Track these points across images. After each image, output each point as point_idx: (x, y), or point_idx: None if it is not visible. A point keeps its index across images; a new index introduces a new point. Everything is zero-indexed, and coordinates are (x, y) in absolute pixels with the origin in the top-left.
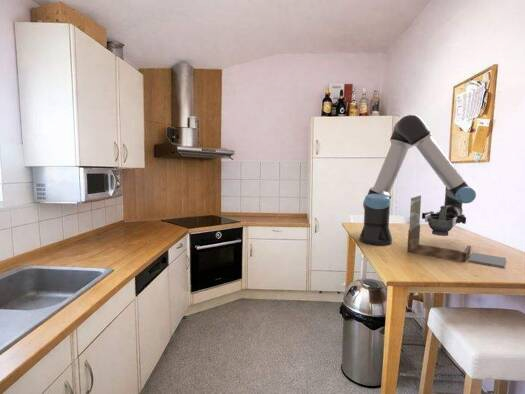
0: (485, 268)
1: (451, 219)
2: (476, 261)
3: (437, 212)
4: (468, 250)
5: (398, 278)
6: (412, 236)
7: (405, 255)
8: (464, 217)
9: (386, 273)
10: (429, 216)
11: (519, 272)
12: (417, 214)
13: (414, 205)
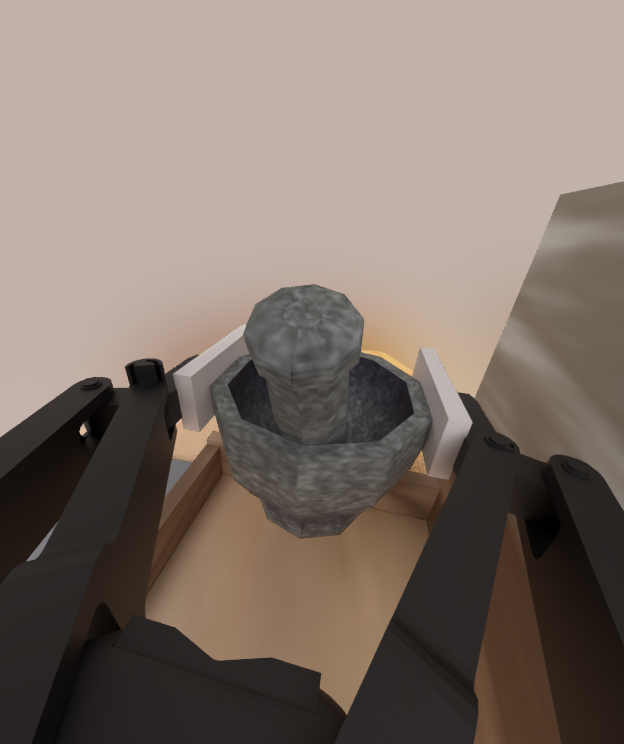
0: (178, 429)
1: (231, 399)
2: (177, 460)
3: (449, 675)
4: (165, 499)
5: (370, 353)
6: (454, 473)
7: (419, 462)
8: (91, 380)
9: (394, 361)
10: (431, 404)
11: (84, 428)
12: (616, 467)
13: (573, 281)
